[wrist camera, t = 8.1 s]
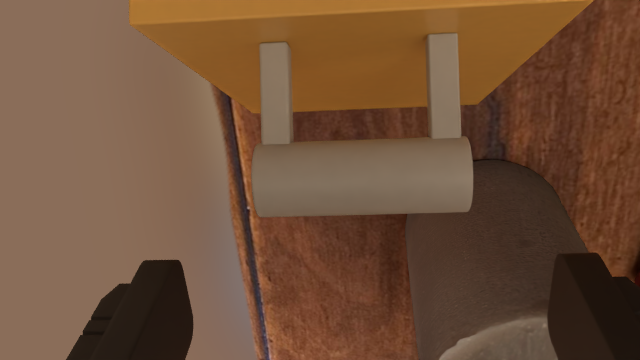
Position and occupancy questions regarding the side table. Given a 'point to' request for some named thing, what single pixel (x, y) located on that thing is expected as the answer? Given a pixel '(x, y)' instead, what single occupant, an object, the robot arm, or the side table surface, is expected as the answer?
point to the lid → (356, 87)
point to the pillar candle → (489, 268)
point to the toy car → (638, 279)
